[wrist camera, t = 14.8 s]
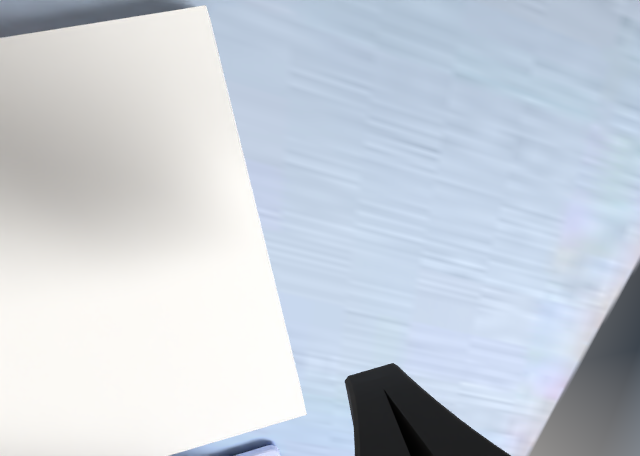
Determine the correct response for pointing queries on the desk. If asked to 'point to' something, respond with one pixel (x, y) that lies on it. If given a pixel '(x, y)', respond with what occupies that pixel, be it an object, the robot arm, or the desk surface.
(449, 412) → the robot arm
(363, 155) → the desk surface
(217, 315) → the white board
